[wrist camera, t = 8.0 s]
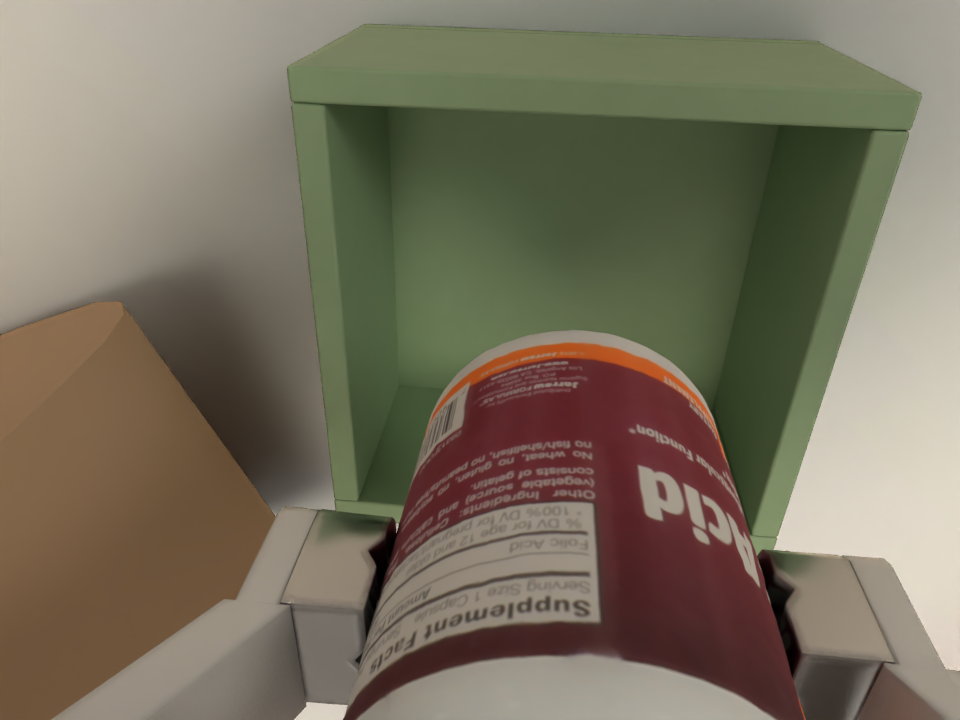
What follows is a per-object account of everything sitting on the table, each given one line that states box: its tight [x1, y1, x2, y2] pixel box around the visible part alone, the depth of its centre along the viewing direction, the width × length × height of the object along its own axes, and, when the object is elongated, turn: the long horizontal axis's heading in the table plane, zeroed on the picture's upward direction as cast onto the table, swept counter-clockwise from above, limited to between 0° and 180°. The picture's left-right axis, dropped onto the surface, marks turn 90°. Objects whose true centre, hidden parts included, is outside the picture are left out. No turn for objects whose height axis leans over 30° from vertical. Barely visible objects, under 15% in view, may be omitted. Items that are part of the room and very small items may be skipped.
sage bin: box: [287, 24, 922, 555], centre depth 17 cm, size 10×10×6 cm
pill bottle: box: [343, 330, 805, 720], centre depth 9 cm, size 5×5×8 cm
